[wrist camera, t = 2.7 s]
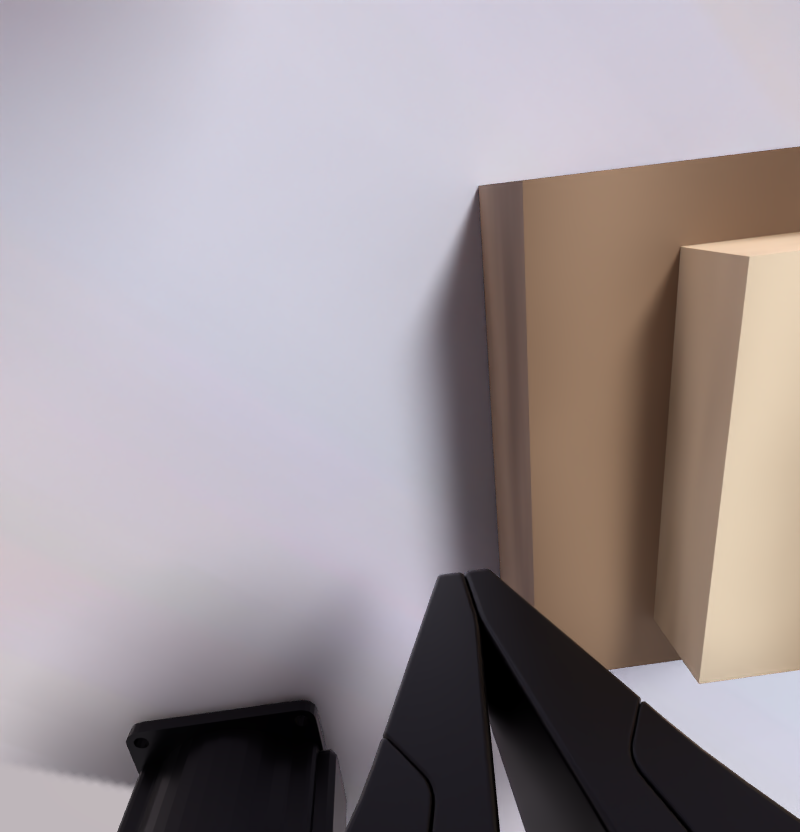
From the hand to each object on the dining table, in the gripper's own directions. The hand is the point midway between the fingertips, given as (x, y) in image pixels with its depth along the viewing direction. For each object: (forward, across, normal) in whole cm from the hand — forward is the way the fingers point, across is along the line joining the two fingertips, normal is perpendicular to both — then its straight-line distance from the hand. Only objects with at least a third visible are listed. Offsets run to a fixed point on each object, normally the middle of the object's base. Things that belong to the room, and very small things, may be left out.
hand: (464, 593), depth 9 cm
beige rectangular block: (+3, -8, 0) cm, 9 cm away
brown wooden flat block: (+7, -7, 0) cm, 10 cm away
